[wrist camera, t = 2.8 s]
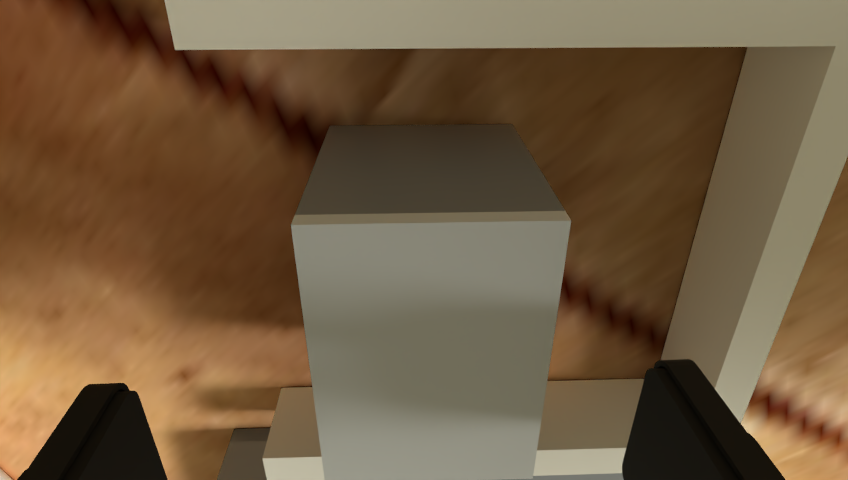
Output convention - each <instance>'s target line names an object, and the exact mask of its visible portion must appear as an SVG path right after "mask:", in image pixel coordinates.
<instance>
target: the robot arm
mask: <svg viewBox="0 0 848 480" xmlns="http://www.w3.org/2000/svg"><path fill="white" fill-rule="evenodd" d="M622 474H623V479H624V480H785V478H784V477H783V476H782V474H781V473H780V472H779V470H778V469H777V468H776V466H775V465H774V464H773V462H772V461H771V460H770V458H769V457H768V456H767V454H766V453H765V452H764V450H763V449H762V448H761V446H760V445H759V444H758V442H757V441H756V440H755V439H754V438H753V437H752V436H751V435H750V434H749V433H747V432H746V430H745V429H744V428H743V426H742V425H741V424H740V422H739V421H738V420H737V418H736V417H735V416H734V414H733V413H732V412H731V410H730V409H729V407H728V406H727V405H726V403H725V402H724V401H723V399H722V398H721V397H720V395H719V394H718V393H717V391H716V390H715V389H714V387H713V386H712V384H711V383H710V382H709V380H708V379H707V378H706V376H705V375H704V374H703V372H702V371H701V370H700V368H699V367H698V366H697V364H696V363H695V362H694V361H692V360H690V359H678V360H659V361H657V362H656V364H655V366H654V368H651V369H648V370H647V372H646V375H645V379H644V382H643V386H642V390H641V394H640V398H639V402H638V405H637V409H636V413H635V417H634V421H633V424H632V428H631V432H630V436H629V440H628V444H627V447H626V451H625V455H624V459H623V463H622ZM17 480H167V477H166V474H165V471H164V468H163V465H162V462H161V459H160V456H159V453H158V451H157V448H156V445H155V442H154V439H153V436H152V433H151V430H150V427H149V424H148V422H147V419H146V416H145V413H144V410H143V407H142V404H141V401H140V398H139V396H138V394H137V392H135V391H129V389H128V387H127V385H125V384H124V383H110V384H89V385H87V386H85V387H84V388H83V389H82V391H81V392H80V393H79V395H78V396H77V398H76V399H75V401H74V402H73V404H72V405H71V406H70V408H69V409H68V411H67V412H66V414H65V415H64V417H63V418H62V420H61V421H60V423H59V424H58V425H57V427H56V428H55V430H54V431H53V433H52V434H51V436H50V437H49V439H48V440H47V442H46V443H45V444H44V446H43V447H42V449H41V450H40V452H39V453H38V455H37V456H36V458H35V459H34V461H33V462H32V463H31V465H30V466H29V468H28V469H27V470H25V471H24V472H23V473H22V475H21V476H20V477H19V478H18V479H17Z"/></svg>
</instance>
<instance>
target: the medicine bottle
mask: <svg viewBox="0 0 848 480" xmlns="http://www.w3.org/2000/svg"><path fill="white" fill-rule="evenodd" d="M0 480H13V479H12V478H11V477H10V476H8V475H7V474H6V473H5V472H4V471H3V470H2V469H1V468H0Z"/></svg>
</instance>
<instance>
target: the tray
mask: <svg viewBox="0 0 848 480" xmlns="http://www.w3.org/2000/svg"><path fill="white" fill-rule="evenodd" d="M269 432H270V428H251V429H234V431H233V434H232V437H231V440H230V443H229V446H228V449H227V451H226V454H225V457H224V460H223V463H222V466H221V469H220V472H219V475H218V478H217V480H267V478H266V473H265V469H264V464H263V459H262V458H263V454H264V450H265V447H266V443H267V439H268V436H269ZM502 480H624V479H623V474H622V473H614V474H581V475H548V476H533V479H502Z"/></svg>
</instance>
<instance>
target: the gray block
mask: <svg viewBox="0 0 848 480" xmlns="http://www.w3.org/2000/svg"><path fill="white" fill-rule="evenodd" d="M570 226H571V219H570V218H569V216H568V214H567V213H566V211H565V210H564V208H563V206H562V205H561V203H560V201H559V200H558V198H557V196H556V195H555V193H554V192H553V190H552V188H551V187H550V185H549V183H548V182H547V180H546V179H545V177H544V175H543V174H542V172H541V170H540V169H539V167H538V165H537V164H536V162H535V161H534V159H533V157H532V156H531V154H530V152H529V151H528V149H527V148H526V146H525V144H524V143H523V141H522V139H521V138H520V136H519V134H518V133H517V131H516V130H515V128H514V126H513V125H512V124H454V125H344V126H329V129H328V131H327V134H326V137H325V139H324V142H323V144H322V147H321V149H320V152H319V154H318V157H317V159H316V162H315V165H314V167H313V170H312V172H311V175H310V177H309V180H308V182H307V185H306V187H305V190H304V193H303V195H302V198H301V200H300V203H299V205H298V208H297V210H296V213H295V216H294V218H293V221H292V223H291V230H292V238H293V245H294V253H295V260H296V268H297V275H298V283H299V290H300V298H301V306H302V313H303V321H304V328H305V336H306V343H307V351H308V358H309V366H310V373H311V381H312V388H313V396H314V403H315V411H316V418H317V426H318V434H319V441H320V449H321V456H322V464H323V471H324V479H325V480H502V479H533V473H534V467H535V460H536V453H537V447H538V440H539V433H540V427H541V420H542V413H543V406H544V400H545V393H546V386H547V380H548V373H549V366H550V360H551V353H552V346H553V339H554V333H555V326H556V319H557V313H558V306H559V299H560V293H561V286H562V279H563V273H564V266H565V259H566V252H567V246H568V239H569V232H570Z"/></svg>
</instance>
